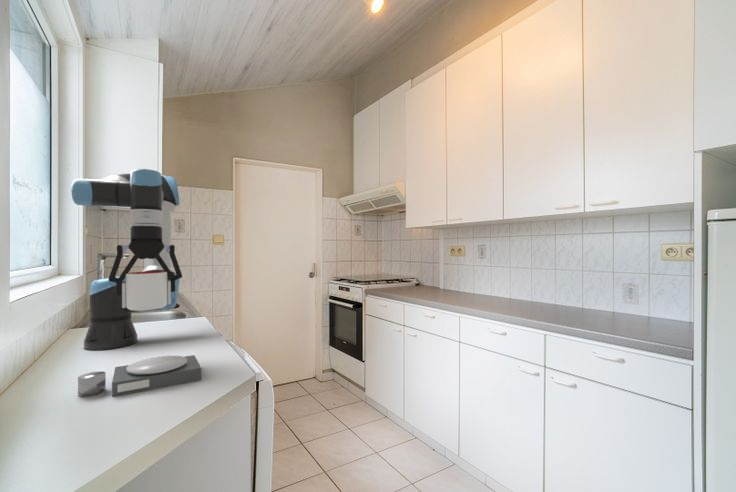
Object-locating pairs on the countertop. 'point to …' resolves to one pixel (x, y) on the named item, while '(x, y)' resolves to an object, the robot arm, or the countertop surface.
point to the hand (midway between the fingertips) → (147, 305)
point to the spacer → (91, 384)
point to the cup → (146, 290)
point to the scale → (155, 374)
